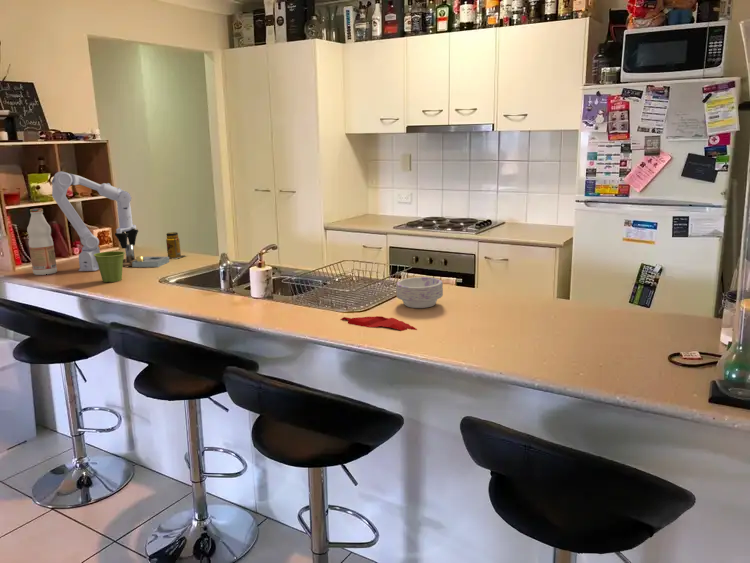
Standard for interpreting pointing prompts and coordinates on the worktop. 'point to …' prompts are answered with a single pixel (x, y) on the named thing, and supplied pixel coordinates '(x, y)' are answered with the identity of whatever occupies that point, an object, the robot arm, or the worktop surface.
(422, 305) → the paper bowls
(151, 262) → the socket block
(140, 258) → the pin
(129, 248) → the silver metal cylinder
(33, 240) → the fruit juice
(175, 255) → the condiment
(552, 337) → the worktop surface
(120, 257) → the plant pot
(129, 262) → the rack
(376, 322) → the cloth
